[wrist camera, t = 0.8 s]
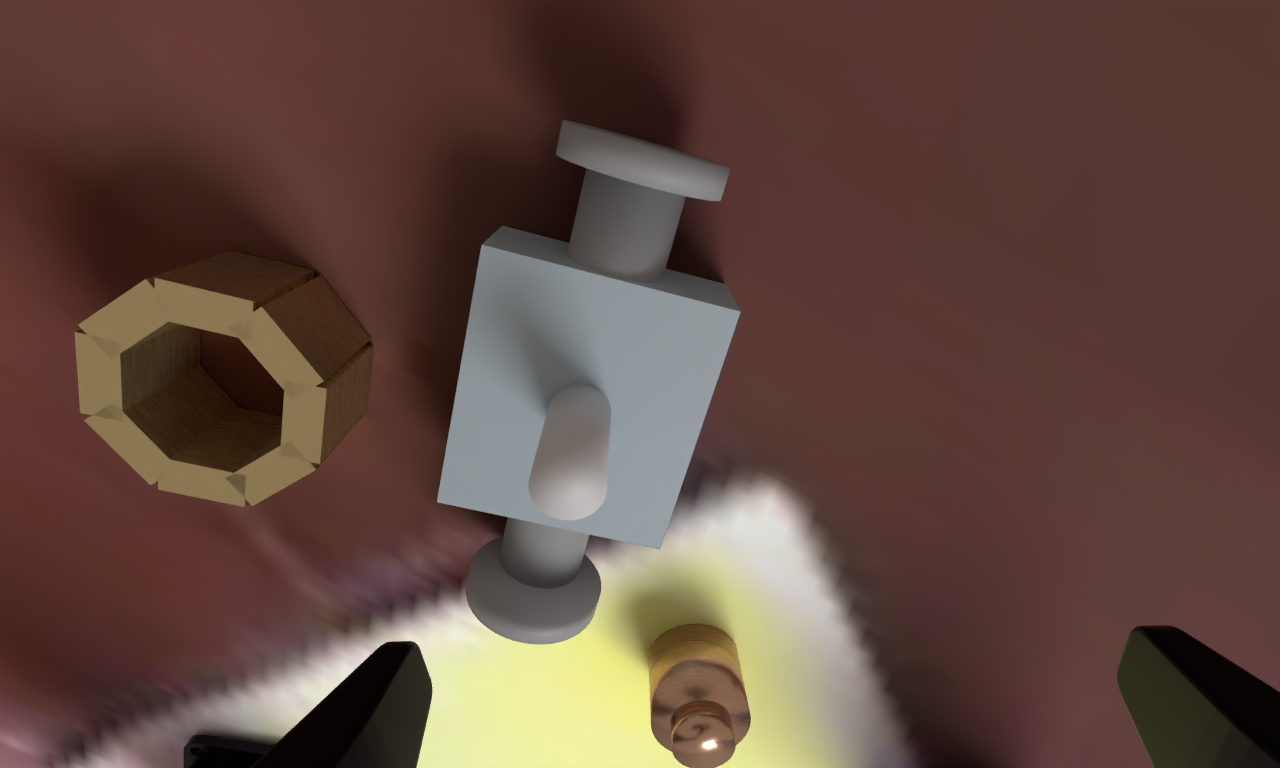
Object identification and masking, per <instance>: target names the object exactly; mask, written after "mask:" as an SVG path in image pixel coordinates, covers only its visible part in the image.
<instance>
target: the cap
mask: <svg viewBox="0 0 1280 768" xmlns="http://www.w3.org/2000/svg"><path fill="white" fill-rule="evenodd" d="M649 683H650V709H651V728H652V732H653V734H654V736H655V738H656V739H657V741H658V742H659V743H660V744H661V745H662V746H663V747H665V748H666V749H668V750H670V751H672V752H673V755H674V757H675V758H676V759H677V760H678V761H679V762H680V763H681V764H683V765H685V766H687V767H690V768H715V767H718V766H720V765H722V764H724V763H725V762H727V761H728V760H729V759H730V758H731V757H732V755H733V753H734V751H735V746H736V745H737V744H738V743H739V742H740V741H741V740H742V739H743V738H744V737H745V735H746V734H747V732H748V730H749V727H750V722H751V717H750V711H749V707H748V702H747V697H746V692H745V687H744V682H743V677H742V672H741V667H740V662H739V657H738V652H737V648H736V645H735V643H734V642H733V640H732V639H731V638H730V637H729V636H728V635H727V634H726V633H725V632H723V631H722V630H720V629H718V628H715V627H713V626H709V625H705V624H686V625H681V626H677V627H675V628H672V629H670V630H668V631H666V632H665V633H664V634H662V635H661V636H660V637H659V638H658V639H657V640H656V641H655V642H654V644H653V645H652V647H651V650H650V653H649Z"/></svg>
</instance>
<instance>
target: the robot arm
mask: <svg viewBox="0 0 1280 768" xmlns="http://www.w3.org/2000/svg"><path fill="white" fill-rule="evenodd" d="M1117 684H1118V688H1119V691H1120V693H1121V696H1122V698H1123V700H1124V703H1125V705H1126V707H1127V709H1128V711H1129V714H1130V716H1131V718H1132V720H1133V723H1134V725H1135V727H1136V729H1137V732H1138V734H1139V736H1140V738H1141V740H1142V743H1143V745H1144V747H1145V749H1146V752H1147V754H1148V756H1149V758H1150V761H1151V763H1152V765H1153V767H1154V768H1280V692H1279V691H1277V690H1276V689H1274V688H1273V687H1271V686H1269V685H1268V684H1266V683H1265V682H1263V681H1261V680H1260V679H1258V678H1257V677H1255V676H1254V675H1252V674H1250V673H1249V672H1247V671H1246V670H1244V669H1243V668H1241V667H1239V666H1238V665H1236V664H1235V663H1233V662H1231V661H1230V660H1228V659H1227V658H1225V657H1224V656H1222V655H1220V654H1219V653H1217V652H1216V651H1214V650H1212V649H1211V648H1209V647H1208V646H1206V645H1205V644H1203V643H1201V642H1200V641H1198V640H1197V639H1195V638H1193V637H1192V636H1190V635H1189V634H1187V633H1186V632H1184V631H1182V630H1180V629H1178V628H1176V627H1173V626H1166V625H1160V626H1138V627H1136V628H1134V629H1133V630H1132V631H1131V633H1130V635H1129V638H1128V640H1127V643H1126V646H1125V649H1124V652H1123V654H1122V657H1121V660H1120V663H1119V666H1118V669H1117ZM431 699H432V682H431V679H430V676H429V673H428V670H427V668H426V665H425V662H424V659H423V656H422V654H421V651H420V648H419V646H418V645H417V644H416V643H415V642H412V641H399V642H387V643H385V644H383V645H381V646H380V647H379V648H378V649H377V650H376V651H374V652H373V653H372V654H371V655H370V656H369V657H368V658H367V659H366V660H365V661H364V662H363V663H362V664H361V665H360V666H358V667H357V668H356V669H355V670H354V671H353V672H352V673H351V674H350V675H349V676H348V677H347V678H346V679H345V680H344V681H343V682H341V683H340V684H339V685H338V686H337V687H336V688H335V689H334V690H333V691H332V692H331V693H330V694H329V695H328V696H327V697H325V698H324V699H323V700H322V701H321V702H320V703H319V704H318V705H317V706H316V707H315V708H314V709H313V710H312V711H311V712H310V713H308V714H307V715H306V716H305V717H304V718H303V719H302V720H301V721H300V722H299V723H298V724H297V725H296V726H295V727H294V728H292V729H291V730H290V731H289V732H288V733H287V734H286V735H285V736H284V737H283V738H282V739H281V740H280V741H279V742H278V743H277V744H275V745H274V746H268V745H262V744H256V743H250V742H244V741H238V740H231V739H225V738H219V737H213V736H207V735H194V736H193V737H191V738H190V740H189V741H188V743H187V744H186V746H185V747H184V768H416V767H417V763H418V758H419V754H420V749H421V745H422V740H423V736H424V731H425V727H426V722H427V718H428V713H429V709H430V704H431Z"/></svg>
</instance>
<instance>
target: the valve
mask: <svg viewBox="0 0 1280 768" xmlns="http://www.w3.org/2000/svg"><path fill="white" fill-rule="evenodd" d="M556 155H557V156H559V157H561V158H563V159H565V160H567V161H569V162H572V163H574V164H577V165H579V166H582V167H585V168H586V172H585V176H584V181H583V185H582V190H581V194H580V199H579V203H578V207H577V212H576V216H575V221H574V225H573V230H572V234H571V239H570V243H567V242H563V241H560V240H556V239H552V238H548V237H544V236H541V235H537V234H533V233H529V232H525V231H522V230H518V229H514V228H510V227H506V226H503V225H502V226H501V227H500V228H499V229H498V230H497V231H496V232H495V233H494V234H493V235H492V236H491V237H489V238H488V239H487V240H486V241H485V242H484V243H483V244H482V245H481V251H480V257H479V263H478V268H477V274H476V280H475V286H474V291H473V297H472V303H471V309H470V314H469V320H468V326H467V332H466V337H465V343H464V349H463V355H462V360H461V366H460V372H459V378H458V383H457V389H456V395H455V401H454V406H453V412H452V418H451V424H450V429H449V435H448V441H447V447H446V452H445V458H444V464H443V470H442V475H441V481H440V487H439V493H438V498H437V502H439V503H443V504H448V505H453V506H458V507H462V508H467V509H472V510H476V511H481V512H486V513H491V514H495V515H500V516H505V517H508V518H507V523H506V527H505V532H504V536H503V537H499V538H497V539H494V540H492V541H490V542H489V543H487V544H486V545H484V546H483V547H482V548H481V549H480V550H479V551H478V552H477V553H476V554H475V556H474V558H473V560H472V562H471V566H470V571H469V576H468V581H467V586H466V597H467V601H468V604H469V607H470V608H471V610H472V612H473V613H474V615H475V616H476V617H477V619H478V620H479V621H480V622H481V623H482V624H483V625H485V626H486V627H487V628H489V629H490V630H492V631H493V632H495V633H497V634H499V635H501V636H503V637H505V638H508V639H511V640H514V641H518V642H522V643H528V644H551V643H557V642H561V641H564V640H567V639H569V638H572V637H574V636H576V635H577V634H579V633H580V632H581V631H583V630H584V629H585V628H586V627H587V626H588V624H589V623H590V622H591V620H592V618H593V616H594V613H595V610H596V606H597V603H598V600H599V596H600V593H601V580H600V576H599V574H598V571H597V569H596V568H595V566H594V564H593V563H592V562H591V561H590V559H589V558H588V557H587V556H586V555H584V552H585V549H586V545H587V542H588V538H589V535H595V536H599V537H604V538H609V539H614V540H618V541H623V542H628V543H632V544H637V545H642V546H647V547H651V548H656V549H660V548H661V545H662V542H663V539H664V536H665V533H666V530H667V527H668V524H669V522H670V519H671V516H672V513H673V510H674V507H675V504H676V501H677V498H678V495H679V492H680V489H681V486H682V483H683V480H684V477H685V474H686V471H687V468H688V465H689V463H690V460H691V457H692V454H693V451H694V448H695V445H696V442H697V439H698V436H699V433H700V430H701V427H702V424H703V421H704V418H705V415H706V412H707V409H708V406H709V404H710V401H711V398H712V395H713V392H714V389H715V386H716V383H717V380H718V377H719V374H720V371H721V368H722V365H723V362H724V359H725V356H726V353H727V350H728V347H729V345H730V342H731V339H732V336H733V333H734V330H735V327H736V324H737V321H738V318H739V315H740V312H741V311H740V310H739V308H738V306H737V304H736V302H735V301H734V299H733V297H732V295H731V293H730V292H729V290H728V288H727V286H726V284H723V283H719V282H715V281H711V280H708V279H704V278H700V277H696V276H692V275H689V274H685V273H681V272H677V271H673V270H670V269H666V265H667V262H668V258H669V255H670V251H671V248H672V244H673V241H674V237H675V234H676V230H677V227H678V223H679V220H680V216H681V213H682V209H683V206H684V202H685V199H686V196H687V197H692V198H697V199H703V200H709V201H720V200H721V198H722V195H723V191H724V188H725V185H726V182H727V178H728V175H729V172H730V169H731V168H729V167H727V166H725V165H722V164H719V163H717V162H714V161H711V160H708V159H705V158H702V157H699V156H695V155H692V154H689V153H686V152H683V151H679V150H676V149H673V148H669V147H666V146H663V145H659V144H656V143H652V142H649V141H645V140H642V139H638V138H635V137H631V136H628V135H624V134H620V133H617V132H613V131H609V130H605V129H602V128H598V127H594V126H590V125H586V124H581V123H577V122H572V121H567V120H562V125H561V130H560V135H559V140H558V144H557V149H556Z"/></svg>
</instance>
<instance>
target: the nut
mask: <svg viewBox="0 0 1280 768" xmlns="http://www.w3.org/2000/svg"><path fill="white" fill-rule="evenodd" d="M313 277H314V270H311V269H307V268H303V267H299V266H295V265H291V264H287V263H282V262H278V261H274V260H270V259H266V258H262V257H258V256H254V255H250V254H246V253H242V252H238V251H234V250H231V251H229V252H225V251H224V252H221V253H218V254H215V255H213V256H210V257H207V258H204V259H201V260H198V261H196V262H193V263H190V264H187V265H184V266H181V267H178V268H176V269H173V270H170V271H167V272H164V273H161V274H158V275H156V276H153V277H150V278H147V279H145V280H143V281H142V282H140V283H139V284H137V285H136V286H135V287H133V288H132V289H130V290H129V291H127V292H126V293H124V294H123V295H121V296H120V297H118V298H117V299H115V300H114V301H112V302H111V303H110V304H108V305H107V306H105V307H104V308H102V309H101V310H99V311H98V312H96V313H95V314H93V315H92V316H90V317H89V318H87V319H86V320H85V321H83V322H82V323H80V324H79V325H78V326H79V327H80V328H81V330H78V331H76V332H75V343H76V358H77V372H78V387H79V402H80V413H83V414H88V415H92V416H90V417H89V418H87V419H86V420H84V421H85V422H86V423H87V424H88V425H89V426H90V427H91V428H92V429H93V430H94V431H95V432H97V433H98V434H99V435H100V436H101V437H102V438H103V439H104V440H105V441H106V442H107V443H108V444H109V445H110V446H111V447H112V448H113V449H114V450H115V451H116V452H117V453H118V454H119V455H120V456H121V457H122V458H123V459H124V460H125V461H126V462H127V463H128V464H129V465H130V466H131V467H132V468H133V469H134V470H135V471H136V472H137V473H138V474H139V475H140V476H141V477H142V478H144V479H145V480H146V481H147V482H148V483H149V484H150V485H152V484H153V483H155V482H157V481H158V489H159V490H163V491H168V492H173V493H178V494H183V495H188V496H193V497H198V498H203V499H208V500H213V501H217V502H222V503H227V504H232V505H237V506H242V507H245V506H246V505H247V504H248V503H250V504H251V505H252V506H253V505H255V504H257V503H259V502H260V501H262V500H264V499H266V498H267V497H269V496H271V495H273V494H274V493H276V492H278V491H280V490H281V489H283V488H285V487H287V486H288V485H290V484H292V483H294V482H296V481H297V480H299V479H301V478H303V477H304V476H306V475H308V474H310V473H311V472H313V471H315V470H316V469H317V468H318V467H319V466H320V465H321V464H322V462H323V461H324V460H325V459H326V458H327V457H328V455H329V454H330V453H331V452H332V451H333V450H334V449H335V447H336V446H337V445H338V444H339V443H340V442H341V441H342V439H343V438H344V437H345V436H346V435H347V434H348V432H349V431H350V430H351V429H352V428H353V427H354V426H355V424H356V423H357V422H358V421H359V420H360V419H361V417H362V415H363V414H364V413H365V412H366V404H367V396H368V387H369V379H370V370H371V362H372V353H373V346H372V345H368V344H366V343H367V342H369V341H370V340H371V338H370V337H369V335H368V334H367V333H366V332H365V330H364V329H363V328H362V327H361V325H360V324H359V323H358V321H357V320H356V319H355V318H354V316H353V315H352V314H351V313H350V311H349V310H348V309H347V307H346V306H345V305H344V304H343V302H342V301H341V300H340V298H339V297H338V296H337V295H336V293H335V292H334V291H333V290H332V288H331V287H330V286H329V284H328V283H327V282H326V281H325V279H324V278H323V277H322V275H320V276H318V277H316V278H314V279H313ZM200 329H203V330H207V331H212V332H216V333H220V334H224V335H229V336H233V337H237V338H239V339H240V340H241V341H242V342H243V344H244V345H245V346H246V347H247V348H248V349H249V350H250V352H251V353H252V354H253V355H254V356H255V357H256V359H257V360H258V361H259V362H260V363H261V364H262V365H263V367H264V368H265V369H266V370H267V371H268V372H269V373H270V375H271V376H272V377H273V378H274V379H275V380H276V382H277V383H278V384H279V385H280V386H281V387H282V388H283V390H284V402H283V417H280V416H275V415H271V414H266V413H262V412H257V411H253V410H248V409H244V408H239V407H238V406H237V405H236V404H235V403H234V402H233V401H232V400H231V399H230V398H229V396H228V395H227V394H226V393H225V392H224V391H223V390H222V389H221V388H220V387H219V385H218V384H217V383H216V382H215V381H214V380H213V379H212V378H211V377H210V375H209V374H208V373H207V372H206V371H205V370H204V369H203V368H202V367H201V366H200Z"/></svg>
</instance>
